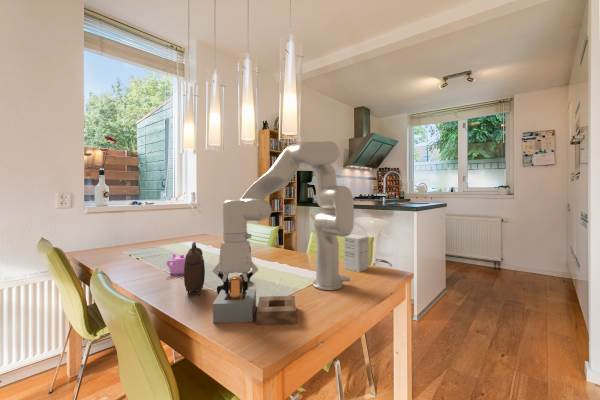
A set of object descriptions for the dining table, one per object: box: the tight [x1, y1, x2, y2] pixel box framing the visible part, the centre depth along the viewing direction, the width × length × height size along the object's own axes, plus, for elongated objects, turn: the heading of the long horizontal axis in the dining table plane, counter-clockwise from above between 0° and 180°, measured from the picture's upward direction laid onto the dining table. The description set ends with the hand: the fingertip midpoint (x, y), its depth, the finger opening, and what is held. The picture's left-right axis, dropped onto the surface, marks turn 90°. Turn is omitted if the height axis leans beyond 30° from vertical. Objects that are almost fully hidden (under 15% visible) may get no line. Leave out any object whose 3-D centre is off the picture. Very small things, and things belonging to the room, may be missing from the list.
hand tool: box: [216, 273, 251, 296], centre depth 117 cm, size 19×4×5 cm, turn 151°
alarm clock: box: [183, 241, 206, 296], centre depth 112 cm, size 15×7×20 cm, turn 17°
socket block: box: [212, 288, 257, 324], centre depth 92 cm, size 12×12×6 cm
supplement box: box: [343, 234, 370, 273], centre depth 144 cm, size 10×9×17 cm
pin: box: [229, 275, 243, 300], centre depth 92 cm, size 4×4×12 cm
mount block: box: [256, 295, 297, 326], centre depth 91 cm, size 12×12×4 cm
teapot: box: [166, 252, 186, 276], centre depth 139 cm, size 12×14×9 cm
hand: (235, 291), depth 92 cm, fingers open, 5 cm apart
